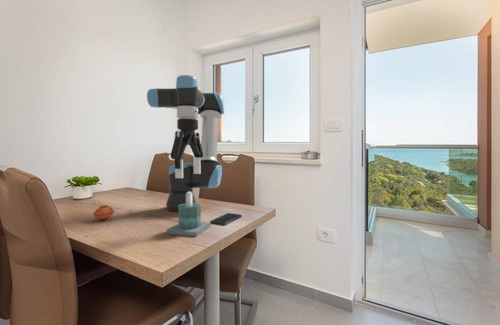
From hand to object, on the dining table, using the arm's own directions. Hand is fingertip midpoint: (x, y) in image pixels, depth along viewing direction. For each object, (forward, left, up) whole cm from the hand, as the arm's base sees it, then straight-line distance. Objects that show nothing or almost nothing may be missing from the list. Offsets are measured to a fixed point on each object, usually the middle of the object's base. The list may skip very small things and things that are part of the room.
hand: (188, 175), depth 94 cm
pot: (-3, -43, -21) cm, 48 cm away
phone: (-16, +9, -21) cm, 28 cm away
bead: (0, 0, -19) cm, 19 cm away
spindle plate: (0, 0, -21) cm, 21 cm away
